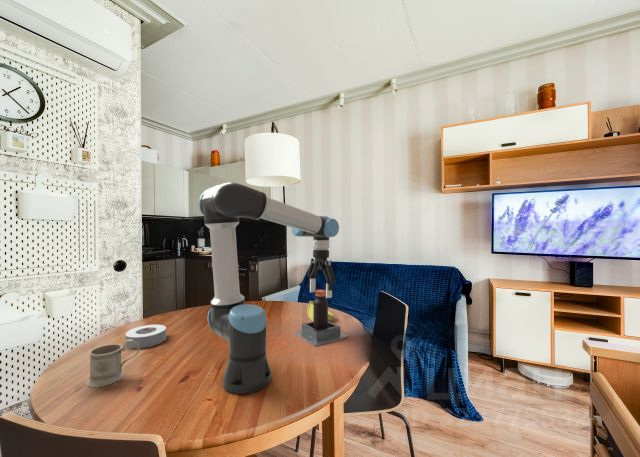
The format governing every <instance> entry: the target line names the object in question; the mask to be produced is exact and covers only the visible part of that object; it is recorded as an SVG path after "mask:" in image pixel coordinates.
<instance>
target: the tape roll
mask: <svg viewBox="0 0 640 457" xmlns="http://www.w3.org/2000/svg"><path fill="white" fill-rule="evenodd" d="M124 335H125V338H124V340H125V341H124V343H126V342H127V341H126V340H128V339H133V341H135V342H137V343H138V344H139V347H140V349H145V348H146V347H147V348H150V347H151V348H152V347H154V345H155V346H158V345H160V344H162V343H164V342H165V341H166V339H167V326H165V325H162V324H146V325H142V326H141V325H140V326H138V327H134V328H132V329H129V330H128V331H127V332H126V333H125V334H124ZM163 341H164V342H163ZM157 344H158V345H157ZM125 347H126V348H127V347H128V348H127V349H131V348H138V346H137V344H135V343H132V342H130V343H127V344H126V345H125Z"/></svg>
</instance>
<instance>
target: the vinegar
mask: <svg viewBox="0 0 640 457" xmlns="http://www.w3.org/2000/svg"><path fill="white" fill-rule="evenodd" d="M313 302H314V304H313V321H312V322H313V328H314V329H316V330H322V329H326V328H328V321H329V320H328V311H329V301H328V300H327V298H326V289H315V299H314V300H313Z"/></svg>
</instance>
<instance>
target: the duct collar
mask: <svg viewBox="0 0 640 457" xmlns="http://www.w3.org/2000/svg"><path fill="white" fill-rule="evenodd" d="M294 334H295V336H298V337H299V338H301V339H302V340H304V341H305V342H307V343H308V344H310V345H312V346H314V347H319V346H322V345H325V344H330V343H334V342H337V341H341V340H344V339H348V338H349V336H348V335H347V334H345V333H343V332H341V326H340V325H337V324H336V323H333V322H332V321H329V320H328V328H326V329H322V330H316V329H314V328H313V321H309V322H303V323H301V330H296V331H294Z"/></svg>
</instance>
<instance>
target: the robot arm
mask: <svg viewBox="0 0 640 457" xmlns="http://www.w3.org/2000/svg"><path fill="white" fill-rule="evenodd" d="M198 208H199V212H201V213H202V215H203V217H204V218H203V220H204V226H205V227H206V228H208V229H209V234H210V247H211V248H210V249H211V262H212V274H213V277H212V278H213V290H214V296H213V298H212V299H211V300H210V309H209V310H208V311H207V319H206V320H207V324H208V326H209V328H210V330H211V331H212V332H213V333H214V334H215V335H217V336H219V337H220V338H222V339H224V340H225V341H227V342H228V360H227V364H226V367H225V369H224V373H223V377H222V387H223V389H224V390H225V391H227V392H228V393H231V394H236V395H247V394H252V393H256V392H259V391H261V390H263V389H265V388H266V387H268V385H269V384H270V383H271V381H272V369H271V366H270V364H269V361H268V358H267V325H268V324H267V323H268V321H267V313H266V311H265V309H264V308H262V307H261V306H259V305H256V304H250V303H249V304H248V303H246V301H245V300H246V299H245V296H244V295H243V294H241V292H240V291H241V290H240V279H239V262H238V249H237V246H238V245H237V234H236V228H237V226H238V225H239V224H240V218H245V219H252V220H255V221H257V220H260V219H262V220H265V221H269V222H272V223H276V224H279V225H282V226H286V227H289V228H290V230H291V233H292V234H293V236H295V237H306V238H307V237H310V238H311V237H312V238H313V239H312V240H313V241H312V244H313V245H312V246H313V248H312V249H313V250H312V257H313V258H311V259H310V263H309V264H310V265H309V268H308V270H307V277H308V278H309V293H316V290H317V289H316V288H317V287H316V283H317V282H316V276H317V274H318V273H319V270H320V271H322V273H323V275H324V277H325V280H326V285H325V291H326V297H325V299H331V298H332V297H333V283H336V282H337V280H336V276H335V273H334V269H333V263H332V260H328V258H329V257H330V238H334V237H336V236H337V235H338V234H339V231H340V224H339V222H338V221H337V219H336V218H330V217H329V216H325V215H316V214H315V213H311V212H308V211H306V210H304V209H300V208H298V207H295V206H292V205H290V204H286V203H283V202H282V201H279V200H275V199H273V198H272V197H271V198H270V197H268V195H267V194H266V192H263V191H260V190H259V189H255V188H253V187H250V186H247V185H245V184H242V183H241V184H240V183H237V182H224V183H222V184H218V185H213V186H211V187H209V188H207V189H206V190H204V191H203V192H202V193H201V195H200V196H199V198H198Z"/></svg>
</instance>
